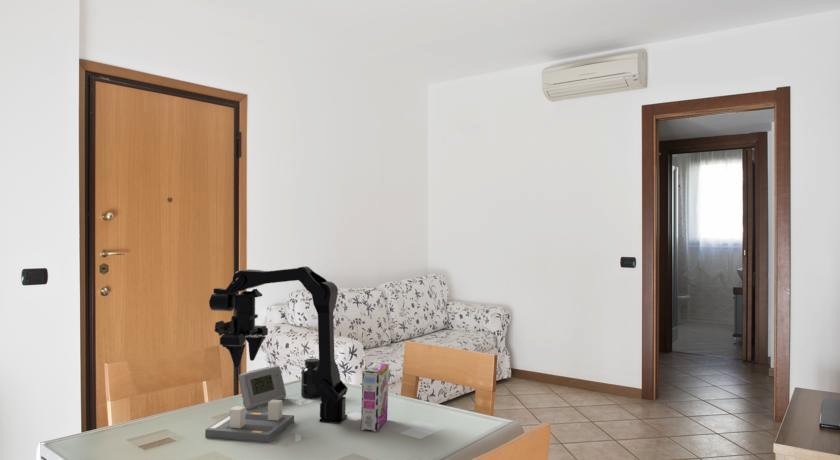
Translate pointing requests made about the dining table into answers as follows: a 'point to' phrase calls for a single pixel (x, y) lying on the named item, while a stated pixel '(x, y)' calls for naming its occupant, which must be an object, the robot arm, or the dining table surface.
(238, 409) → the switch tab
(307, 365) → the supplement bottle
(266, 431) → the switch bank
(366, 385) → the candy bar box
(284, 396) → the digital clock
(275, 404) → the switch tab
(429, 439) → the dining table surface
